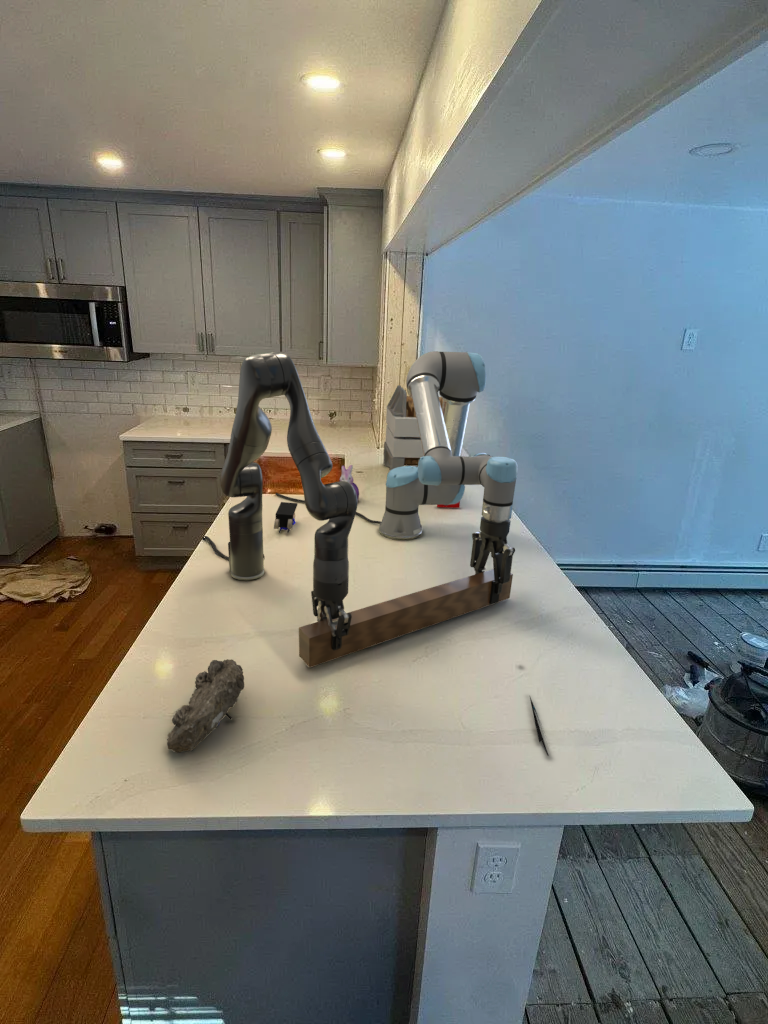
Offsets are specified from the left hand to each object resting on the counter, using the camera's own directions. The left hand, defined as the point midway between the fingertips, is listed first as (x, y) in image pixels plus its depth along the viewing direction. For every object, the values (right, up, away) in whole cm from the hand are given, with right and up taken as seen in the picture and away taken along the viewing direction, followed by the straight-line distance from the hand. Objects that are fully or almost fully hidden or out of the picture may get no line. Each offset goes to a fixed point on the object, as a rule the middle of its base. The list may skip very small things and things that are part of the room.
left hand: (330, 642), depth 126 cm
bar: (+20, +1, +14) cm, 24 cm away
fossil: (-21, -10, -18) cm, 29 cm away
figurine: (-2, +33, +105) cm, 110 cm away
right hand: (+40, +6, +27) cm, 48 cm away
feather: (+42, -11, -11) cm, 45 cm away
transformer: (+29, +48, +149) cm, 159 cm away
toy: (+37, +35, +115) cm, 126 cm away
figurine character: (-23, +23, +74) cm, 81 cm away
